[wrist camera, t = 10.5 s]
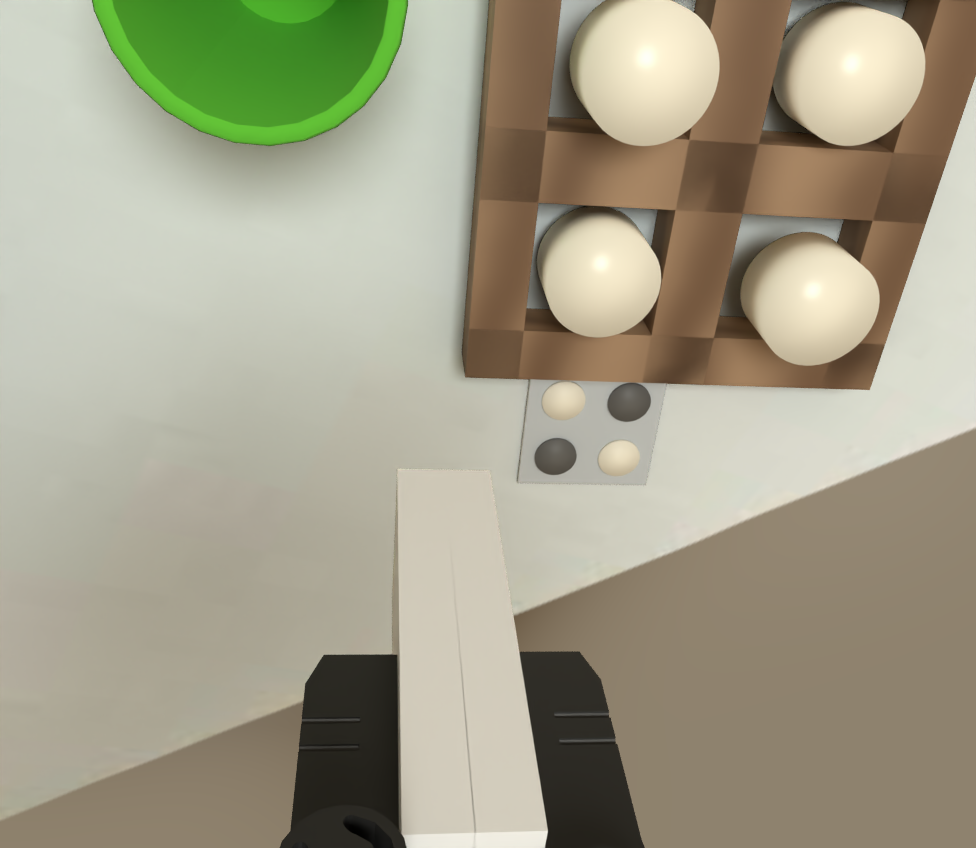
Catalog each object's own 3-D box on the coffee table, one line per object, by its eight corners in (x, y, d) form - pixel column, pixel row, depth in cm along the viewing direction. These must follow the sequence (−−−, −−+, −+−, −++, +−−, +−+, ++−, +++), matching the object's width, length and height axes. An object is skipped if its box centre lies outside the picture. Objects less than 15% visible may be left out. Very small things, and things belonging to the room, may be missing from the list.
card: (517, 480, 50) (518, 485, 50) (531, 364, 46) (532, 368, 46) (644, 482, 51) (646, 487, 50) (667, 368, 47) (670, 373, 47)
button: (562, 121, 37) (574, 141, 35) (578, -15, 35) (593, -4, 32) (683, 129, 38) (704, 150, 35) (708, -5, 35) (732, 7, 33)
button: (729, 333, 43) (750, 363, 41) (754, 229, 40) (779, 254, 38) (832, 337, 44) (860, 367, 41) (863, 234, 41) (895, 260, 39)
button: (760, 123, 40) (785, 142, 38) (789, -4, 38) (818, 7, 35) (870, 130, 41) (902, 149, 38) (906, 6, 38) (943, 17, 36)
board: (461, 352, 46) (465, 377, 44) (498, -118, 35) (504, -116, 33) (848, 365, 48) (869, 389, 46) (987, -72, 38) (1023, -67, 36)
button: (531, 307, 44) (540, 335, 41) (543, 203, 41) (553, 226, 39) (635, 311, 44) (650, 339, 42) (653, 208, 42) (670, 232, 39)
